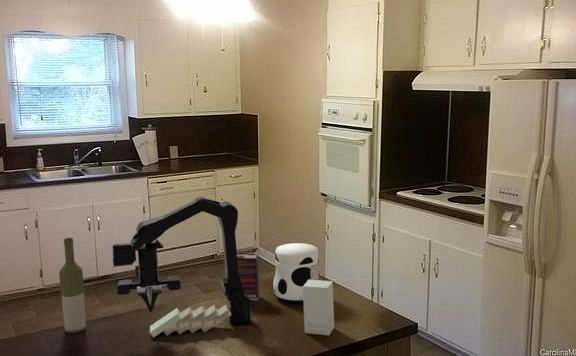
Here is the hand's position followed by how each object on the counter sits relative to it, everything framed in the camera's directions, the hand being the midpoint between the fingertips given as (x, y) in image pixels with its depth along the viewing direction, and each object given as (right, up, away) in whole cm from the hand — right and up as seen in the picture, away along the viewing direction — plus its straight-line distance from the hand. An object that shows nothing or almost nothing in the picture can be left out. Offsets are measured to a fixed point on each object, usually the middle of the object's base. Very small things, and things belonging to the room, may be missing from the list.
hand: (151, 311), depth 173 cm
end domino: (+15, -6, +4) cm, 17 cm away
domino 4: (+11, -6, +3) cm, 13 cm away
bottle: (-25, -7, +5) cm, 27 cm away
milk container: (+46, -2, +31) cm, 55 cm away
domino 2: (+4, -6, +2) cm, 8 cm away
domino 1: (0, -7, +1) cm, 7 cm away
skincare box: (+52, -7, +2) cm, 53 cm away
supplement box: (+28, -3, +30) cm, 41 cm away
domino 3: (+8, -6, +3) cm, 10 cm away
